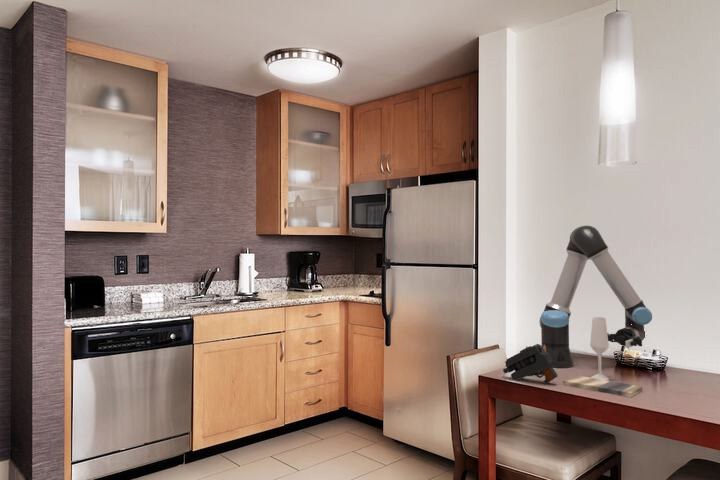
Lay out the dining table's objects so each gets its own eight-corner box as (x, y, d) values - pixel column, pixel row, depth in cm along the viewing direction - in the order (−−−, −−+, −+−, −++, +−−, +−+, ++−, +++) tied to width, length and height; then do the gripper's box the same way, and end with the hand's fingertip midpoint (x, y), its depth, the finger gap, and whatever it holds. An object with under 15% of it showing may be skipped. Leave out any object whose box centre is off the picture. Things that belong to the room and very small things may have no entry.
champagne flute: (613, 379, 203) (612, 318, 203) (598, 380, 201) (597, 319, 202) (601, 375, 209) (600, 316, 210) (587, 376, 208) (586, 317, 209)
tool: (557, 379, 192) (537, 342, 197) (514, 397, 202) (496, 362, 207) (562, 376, 197) (542, 340, 202) (520, 394, 207) (501, 359, 212)
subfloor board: (563, 384, 196) (563, 380, 196) (576, 379, 204) (576, 375, 204) (630, 397, 179) (630, 392, 179) (642, 390, 187) (642, 386, 187)
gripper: (658, 348, 218) (642, 356, 203) (598, 341, 236) (578, 347, 221) (658, 330, 218) (641, 336, 203) (597, 325, 236) (578, 330, 221)
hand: (608, 342), depth 212 cm, fingers open, 13 cm apart
